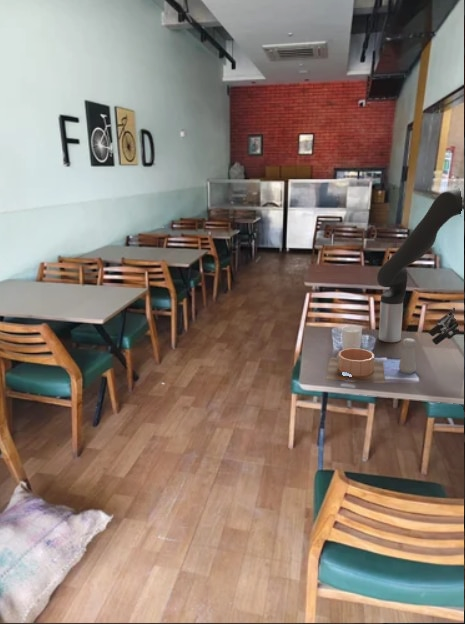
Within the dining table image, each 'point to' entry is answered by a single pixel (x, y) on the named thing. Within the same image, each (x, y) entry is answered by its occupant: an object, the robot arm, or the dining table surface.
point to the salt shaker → (408, 357)
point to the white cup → (351, 337)
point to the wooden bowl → (356, 362)
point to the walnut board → (374, 377)
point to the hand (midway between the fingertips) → (431, 338)
